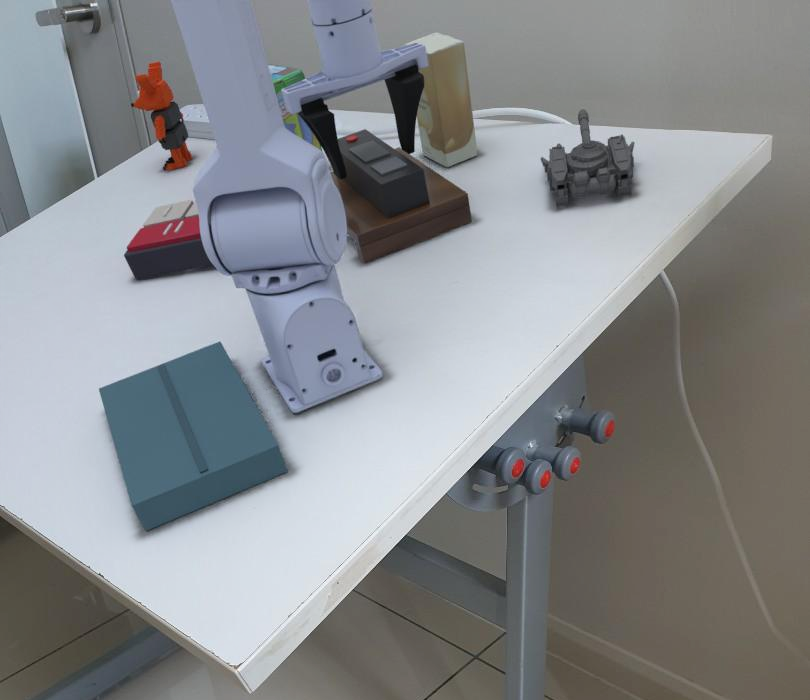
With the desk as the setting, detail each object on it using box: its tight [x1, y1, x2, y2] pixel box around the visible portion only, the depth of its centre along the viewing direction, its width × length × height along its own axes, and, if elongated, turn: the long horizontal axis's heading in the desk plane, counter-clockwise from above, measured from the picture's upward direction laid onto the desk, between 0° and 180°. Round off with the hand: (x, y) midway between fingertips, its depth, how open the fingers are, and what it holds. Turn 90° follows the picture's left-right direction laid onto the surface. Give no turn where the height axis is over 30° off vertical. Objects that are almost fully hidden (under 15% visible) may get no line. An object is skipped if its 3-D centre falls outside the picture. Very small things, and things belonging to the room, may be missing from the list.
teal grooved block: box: [98, 341, 289, 532], centre depth 69 cm, size 18×11×3 cm, turn 23°
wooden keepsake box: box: [330, 146, 473, 264], centre depth 92 cm, size 18×12×3 cm, turn 23°
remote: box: [337, 128, 430, 218], centre depth 90 cm, size 16×4×4 cm, turn 23°
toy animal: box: [130, 61, 193, 171], centre depth 116 cm, size 8×6×12 cm
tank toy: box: [540, 108, 635, 207], centre depth 87 cm, size 12×10×5 cm
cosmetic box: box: [404, 31, 478, 168], centre depth 98 cm, size 6×4×12 cm
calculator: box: [123, 199, 214, 281], centre depth 95 cm, size 11×4×15 cm
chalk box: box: [268, 63, 323, 152], centre depth 103 cm, size 9×9×15 cm
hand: (374, 163), depth 90 cm, fingers open, 7 cm apart
